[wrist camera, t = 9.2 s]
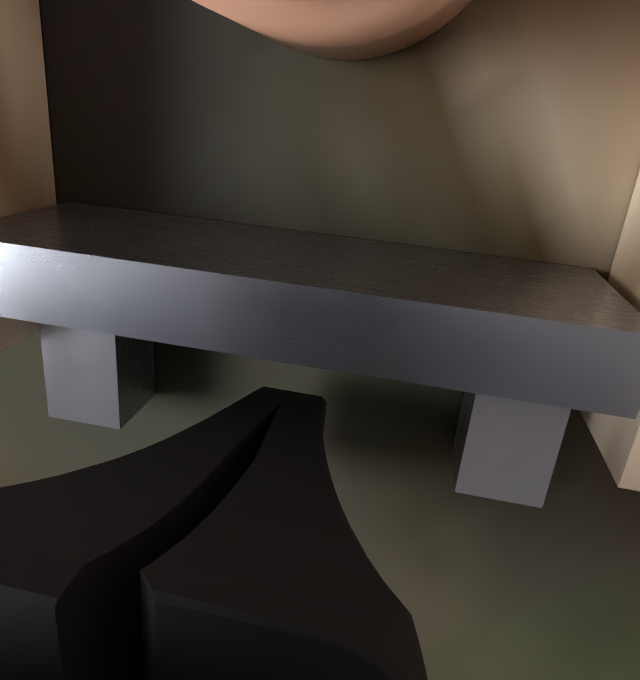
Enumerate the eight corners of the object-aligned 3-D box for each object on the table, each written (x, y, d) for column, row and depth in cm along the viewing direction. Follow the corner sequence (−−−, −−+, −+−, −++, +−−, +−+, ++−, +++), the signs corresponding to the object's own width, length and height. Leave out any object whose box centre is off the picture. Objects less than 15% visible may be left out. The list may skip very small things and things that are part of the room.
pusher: (538, 461, 12) (576, 588, 9) (83, 381, 13) (-28, 465, 10) (592, 268, 10) (664, 336, 7) (69, 201, 12) (-67, 232, 9)
